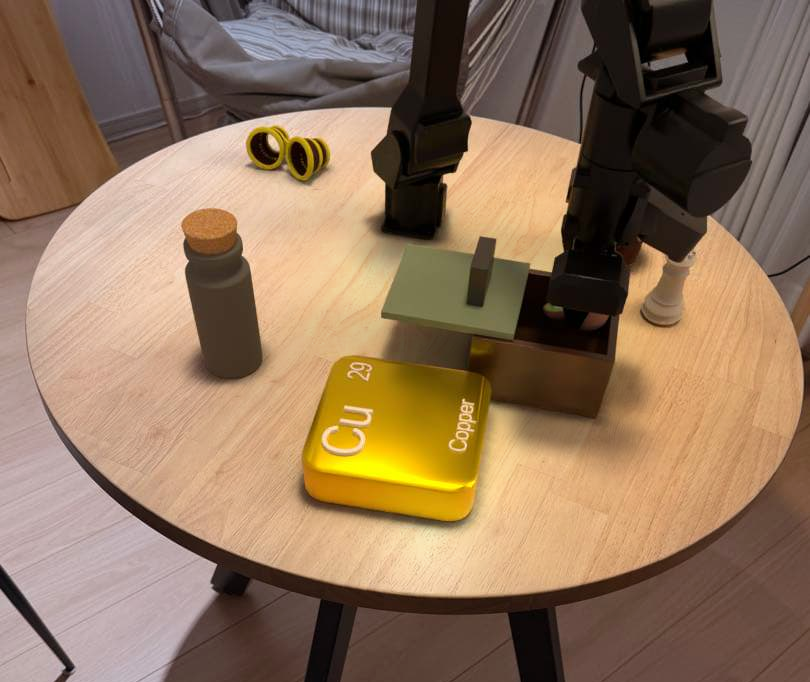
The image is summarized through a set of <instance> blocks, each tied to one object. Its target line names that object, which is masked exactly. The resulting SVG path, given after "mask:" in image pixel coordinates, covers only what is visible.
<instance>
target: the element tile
mask: <svg viewBox="0 0 810 682" xmlns="http://www.w3.org/2000/svg"><path fill="white" fill-rule="evenodd" d="M491 392H492V391H491V385H490V383H489V381H488V380H487V379H486V378H485V377H484V376H482V375H480V374H478V373H474V372H470V371H468V370H463V369H455V368H449V367H441V366H433V365H428V364H421V363H414V362H405V361H399V360H393V359H386V358H378V357H371V356H365V355H359V354H356V355H355V354H354V355H344V356H341V357H340V358H338V359H337V360H336V361H335V362H334V363H333V364H332V366H331V368H330V370H329V373H328V377H327V379H326V381H325V384H324V388H323V389H322V394H321V396H320V400H319V402H318V405H317V408H316V410H315V412H314V413H315V414H314V416H313V419H312V422H311V424H310V428H309V431H308V433H307V436H306V439H305V442H304V445H303V448H302V452H301V462H302V471H303V472H302V473H303V481H304V487H305V491H306V493H308V494H309V495H310V497H312V498H314V499H315V500H317V501H320V502H323V503H330V504H335V505H341V506H348V507H355V508H361V509H366V510H374V511H379V512H386V513H392V514H400V515H403V516H412V517H417V518H422V519H423V518H425V519H431V520H435V521H437V520H438V521H442V522H456V521H461V520H462V519H464V518H466V517H467V516H468V515H469V513H470V512H472V509H473V506H474V502H475V497H476V490H477V484H478V478H479V472H480V466H481V460H482V454H483V447H484V440H485V434H486V428H487V423H488V422H487V421H488V416H489V410H490V405H491V403H490V402H491V399H490V398H491Z"/></svg>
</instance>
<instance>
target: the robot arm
mask: <svg viewBox="0 0 810 682" xmlns="http://www.w3.org/2000/svg"><path fill="white" fill-rule="evenodd" d="M470 5H471V0H416V6H415V17H414V26H413V37H412V47H411V56H410V67H409V76H408V82H407V84H406V86H405V87H404V89H403V90H402V91H401V93H400V94H399V96H398V97H397V99H396V100H395V101H394V103H393V105H392V107H391V108H390V113H389V117H388V123H387V128H386V134H385V136H384V137H383V138H382V139H381V140H380V141H379V142H378V143H377V144H376V145H375V147H373V149H371V151H370V158H371V162H372V163H371V165H372V171H373V172H374V174H375V175H376V176H377V177H379V179H381V181H383V183H384V218H383V220H382V223H381V225H380V231H381V232H382V233H387V234H394V235H401V236H407V237H413V238H419V239H425V240H434V239H435V237H436V234H437V231H438V229H439V228H441V227H442V225H443V223H444V220H445V217H446V209H447V196H448V184H447V183H445V182H444V176H445V175H448V174H449V175H450V174H456V173H457V171H458V168H459V166H460V162H461V160H462V159H463V157H464V154H465V153H467V152H469V134H470V132H471V127H472V124H473V121H472V117H471V116H470V115H469V114H468V113H467V112H466V111H465V109H464V106H463V104H462V101H461V99H460V97H459V94H458V84H459V77H460V72H461V64H462V59H463V58H462V57H463V51H464V46H465V39H466V38H465V37H466V32H467V27H468V26H467V25H468V19H469V12H470ZM580 12H581V14H582V17H583V19H584V21H585V23H586V27H587V29H588V31H589V33H590V36H591V38H592V41H593V43H594V47H595V48H596V50H594V51H593V52H591V53H590V54H589V55H587V56H585V57H584V58H581V59H580V60H579V61H578V62H577V66H576V67H577V70H578V71H579V72H580V73H581V74H583V75H584V76H586V77H588V78H589V79H591V80H592V81H593V82H594V84H593V88H592V92H591V93H592V94H591V97H590V102H589V108H588V111H587V117H586V122H585V126H584V129H583V135H582V139H581V144H580V147H579V152H578V157H577V162H576V166H575V167H573V168H572V169H571V174H570V179H569V183H568V187H567V192H566V197H565V203H567V207H566V212H565V214H563V217H562V220H561V221H562V222H561V227H560V235H561V241H562V249H563V252H561V253H559V254H558V255H556V256H555V257H554V259H553V264H552V268H551V272H552V273H551V278H550V283H549V288H548V293H547V298H546V301H547V302H548V303H549V304H550V305H551V306H555V307H561V308H563V312H564V315H565V319H566V323H567V326H568V327H569V328H574V329H579V328H580V327H581V325H582V323H583V322H584V320H585V319H586V317H587V316H588V314H589V312H590V313H596V314H602V315H608V316H614V317H615V316H617V315H619V316H621V315H622V314H623V312H624V309H625V306H626V303H627V300H628V296H629V290H630V289H629V287H630V281H631V280H630V279H631V268H630V266H627V264H626V263H625V261H624V260H623V256H622V255H621V254H620V253H618V252H616V248H618V247H619V246H623V247H629V248H634V247H635V244H636V241H637V238H639V239H640V240H641V241H642V242H643V244H645V245H647V246H648V247H650V248H652V249H654V250H656V251H658V252H659V253H661V254H663V255H664V256H665V255H667V256H668V258H669V259H670V260H672V261H674V262H677V263H681V262H682V261H683V260H684V259H685V258H686V257H687V255H688V254H689V253H690V252H691V251H692V249H693V248H694V249H695V247H696V246H697V245H698V244H699V242H700V241H701V240H702V239H703V238H704V237H705V235H706V234H707V232H708V216H711V215H713V214H714V213H716V212H718V211H719V210H720V209H722V208H723V207H724V206H726V204H727V203H729V202H730V200H731V199H733V197H734V196H735V195H736V193H737V192H738V191H740V189H741V187H742V186H743V184H744V182H745V180H746V178H747V177H748V175H749V172H750V170H751V167H752V165H753V160H752V155H753V154H752V153H753V148H752V142H751V140H750V138H748V137H747V136H746V135H744V133H745V130H746V127H747V125H748V122H749V116H748V115H746V114H745V113H743V112H741V111H740V110H739V109H737V108H734V107H729V106H726V105H724V104H722V103H721V102H719V101H718V100H716V99H715V98H713V97H711V96H710V95H707V94H706V93H705V92H706V91H710V90H713V89H717V88H720V87H721V86H722V84H723V80H724V79H723V72H722V63H721V58H722V53H721V50H720V46H719V38H718V31H717V30H718V29H717V21H716V15H715V6H714V0H580ZM680 55H684V56H685V58H686V61H687V62H683V63H679V64H675V65H671V66H667V67H663V68H659V69H654V68H652V67H650V66H648V65H647V63H653V62H656V61H661V60H664V59H668V58H672V57H676V56H680Z"/></svg>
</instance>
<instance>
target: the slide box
mask: <svg viewBox="0 0 810 682" xmlns="http://www.w3.org/2000/svg"><path fill="white" fill-rule="evenodd" d="M551 273H552V271H548V270H547V271H546V270H540V269H534V268H530V269H529V274H528V278H527V282H526V287H525V291H524V296H523V300H522V305H521V309H520V313H519V318H518V322H517V327H516V331H515V336H514V340H513V341H511V340H506V339H500V338H494V337H488V336H482V335H477V334H472V336H471V342H470V348H469V349H470V350H469V357H468V365H467V371H470V372H474V373H478V374H480V375H482V376H484V377H485V378H486V379H487V380H488V381H489V383H490V385H491V391H492V392H491V398H490V400H495V401H500V402H505V403H511V404H517V405H522V406H526V407H527V406H528V407H533V408H538V409H543V410H544V409H545V410H550V411H555V412H560V413H561V412H562V413H566V414H571V415H577V416H583V417H588V418H594V419H597V418H598V416H599V414H600V413H599V412H600V410H601V408H602V403H603V400H604V398H605V395H606V391H607V388H608V385H609V381H610V379H611V375H612V372H613V369H614V366H615V363H616V362H615V361H616V353H617V344H618V343H617V342H618V332H619V324H620V315H617V316H615V317H614V316H609V317H608V319H607V321H606V323H605V324H603V325H602V326H601V327H600V328H598V329H595V330H588V331H585V330H581V329H574V328H569V327H568V326H567V323H566V319H565V318H563V319H552V318H550V317H548V316H547V315H546V314H545V313H544V310H543V307H544V305H545V304H547V303H548V302H547V301H546V298H547V293H548V288H549V283H550V278H551Z"/></svg>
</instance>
